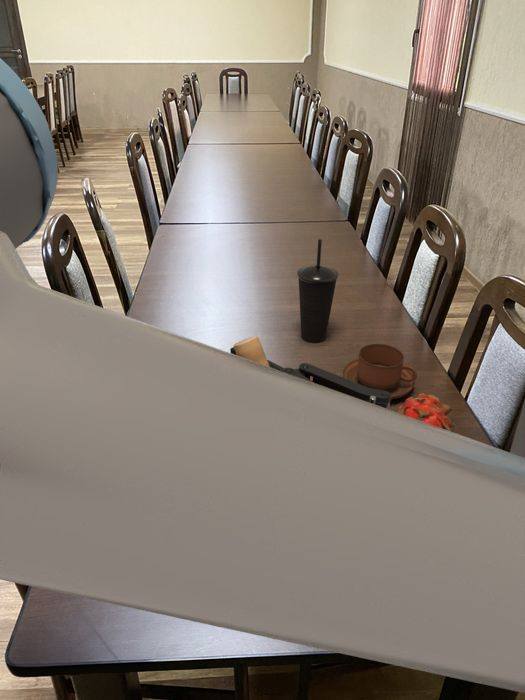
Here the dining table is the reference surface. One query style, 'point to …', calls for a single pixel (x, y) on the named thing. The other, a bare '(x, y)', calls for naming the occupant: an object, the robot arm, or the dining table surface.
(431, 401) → the dragon fruit
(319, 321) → the drinking cup
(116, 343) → the robot arm
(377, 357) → the cup and saucer
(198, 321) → the dining table surface
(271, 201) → the dining table surface
